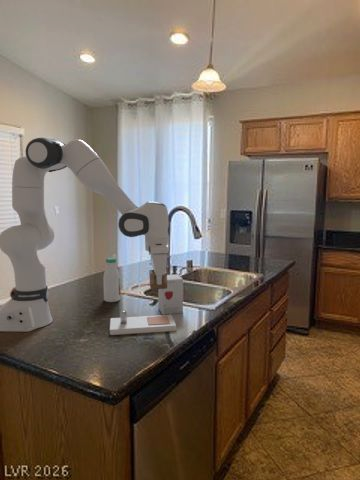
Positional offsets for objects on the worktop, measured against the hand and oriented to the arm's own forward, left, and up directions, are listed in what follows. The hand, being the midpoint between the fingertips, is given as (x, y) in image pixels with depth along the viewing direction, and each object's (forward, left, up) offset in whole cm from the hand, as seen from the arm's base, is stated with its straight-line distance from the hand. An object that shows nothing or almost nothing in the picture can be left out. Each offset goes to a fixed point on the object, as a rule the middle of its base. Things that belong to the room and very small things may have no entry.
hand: (158, 281), depth 139 cm
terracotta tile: (0, 0, -15) cm, 15 cm away
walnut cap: (0, 0, -2) cm, 2 cm away
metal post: (-13, 0, -15) cm, 20 cm away
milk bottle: (-18, +37, -18) cm, 44 cm away
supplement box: (+7, +17, -18) cm, 25 cm away
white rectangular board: (-6, 0, -17) cm, 18 cm away
